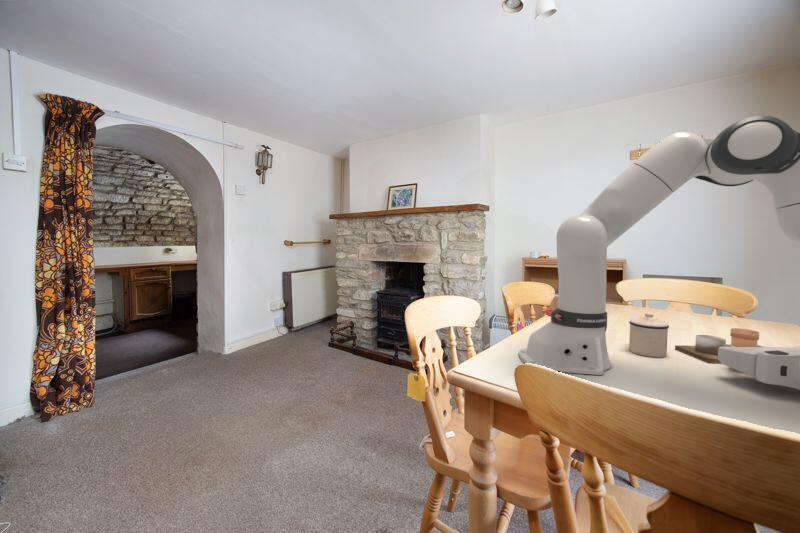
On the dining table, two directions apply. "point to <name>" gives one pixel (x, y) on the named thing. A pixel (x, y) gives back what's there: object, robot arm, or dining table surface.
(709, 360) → the stud board
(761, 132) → the robot arm
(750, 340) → the peach lidded canister
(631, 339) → the teacup with lid
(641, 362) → the dining table surface
